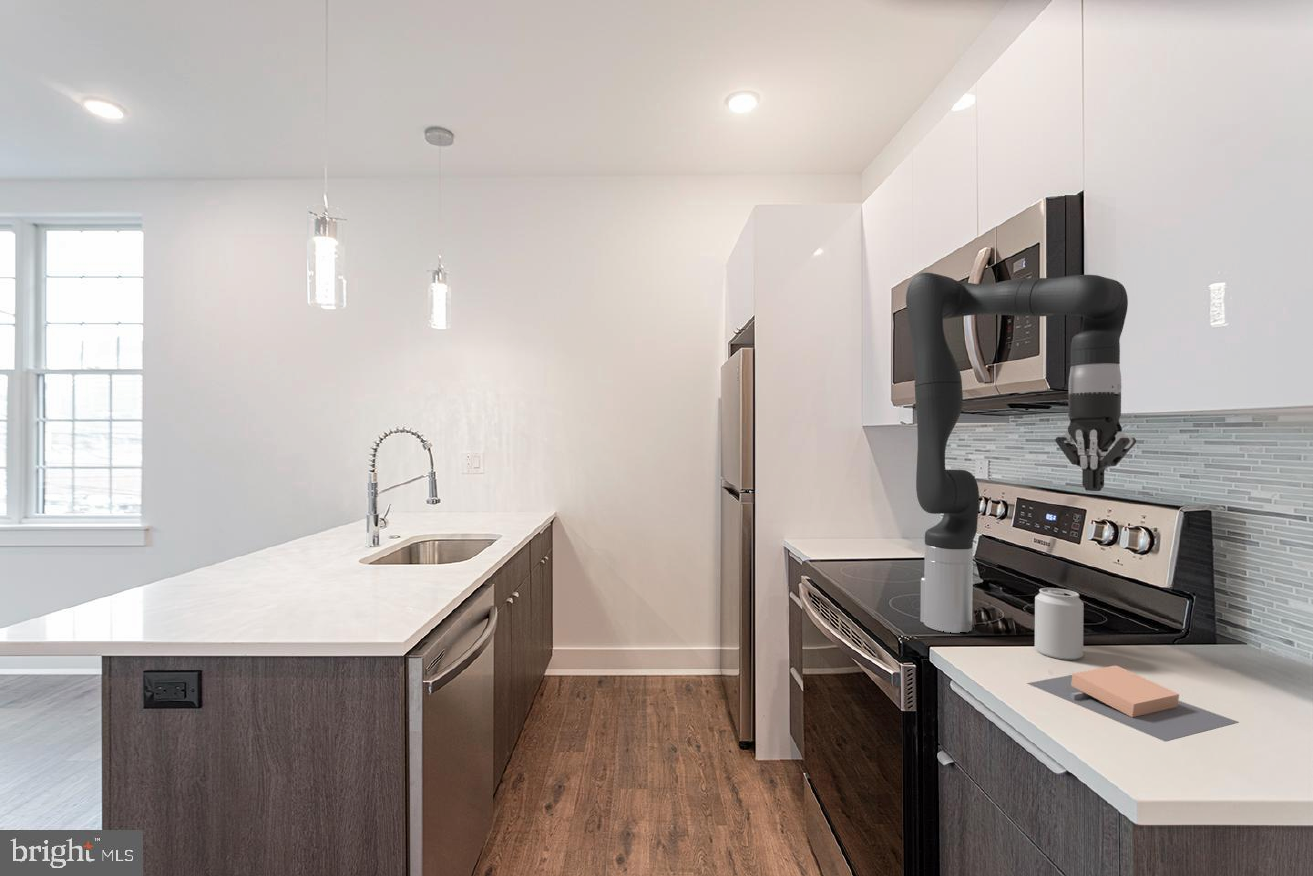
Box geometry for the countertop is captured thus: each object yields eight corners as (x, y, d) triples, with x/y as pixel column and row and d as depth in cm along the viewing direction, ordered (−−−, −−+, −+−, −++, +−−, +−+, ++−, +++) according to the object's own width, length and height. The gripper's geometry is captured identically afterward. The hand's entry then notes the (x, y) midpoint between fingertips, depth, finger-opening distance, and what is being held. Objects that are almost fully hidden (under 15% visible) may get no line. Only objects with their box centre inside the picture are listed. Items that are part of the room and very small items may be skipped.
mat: (1026, 685, 100) (1027, 678, 100) (1094, 672, 106) (1094, 665, 106) (1165, 744, 81) (1165, 735, 81) (1238, 724, 87) (1238, 716, 87)
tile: (1072, 673, 96) (1134, 704, 88) (1116, 665, 100) (1179, 694, 91) (1070, 686, 96) (1132, 718, 88) (1114, 678, 100) (1177, 707, 92)
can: (1091, 664, 110) (1091, 597, 109) (1044, 661, 111) (1044, 594, 111) (1071, 650, 117) (1072, 587, 117) (1028, 647, 118) (1028, 584, 118)
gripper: (1043, 393, 113) (1042, 488, 113) (1119, 388, 100) (1118, 495, 101) (1072, 394, 115) (1071, 487, 116) (1149, 389, 103) (1148, 493, 103)
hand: (1093, 490), depth 108 cm, fingers closed
